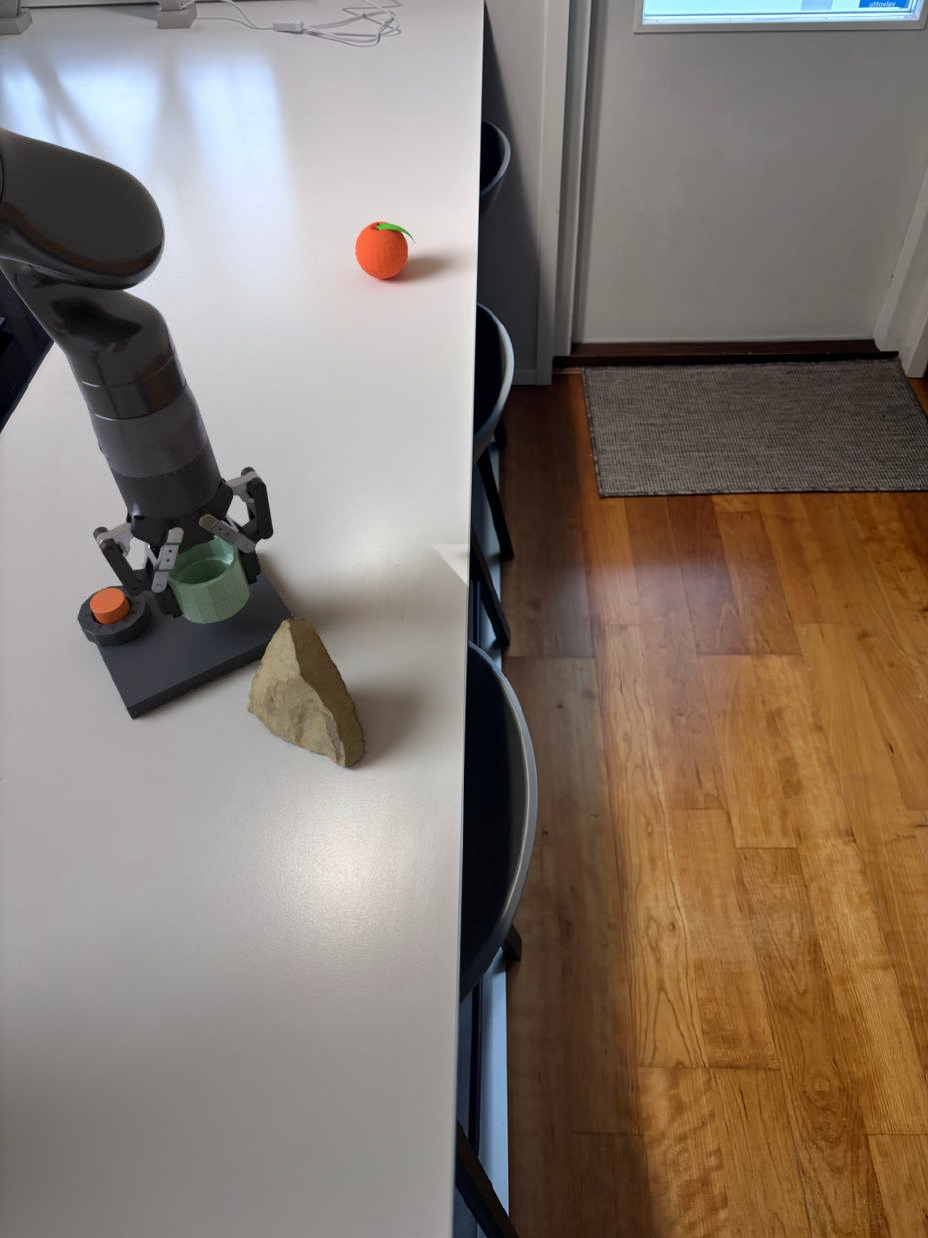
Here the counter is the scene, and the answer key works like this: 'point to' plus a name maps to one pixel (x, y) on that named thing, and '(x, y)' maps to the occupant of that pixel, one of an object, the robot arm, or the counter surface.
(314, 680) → the rock
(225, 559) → the bowl
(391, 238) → the clementine
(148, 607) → the scale
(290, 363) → the counter surface
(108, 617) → the button
